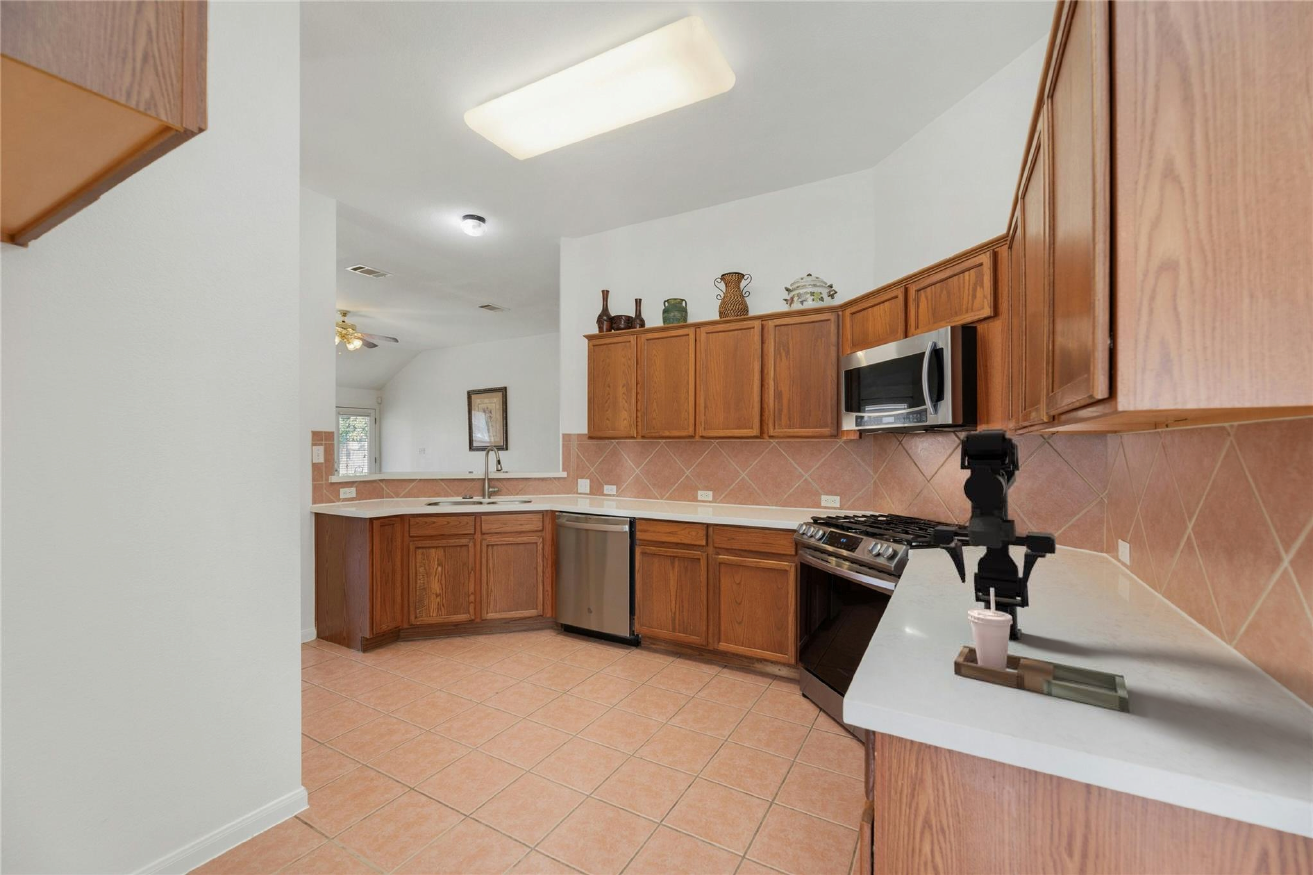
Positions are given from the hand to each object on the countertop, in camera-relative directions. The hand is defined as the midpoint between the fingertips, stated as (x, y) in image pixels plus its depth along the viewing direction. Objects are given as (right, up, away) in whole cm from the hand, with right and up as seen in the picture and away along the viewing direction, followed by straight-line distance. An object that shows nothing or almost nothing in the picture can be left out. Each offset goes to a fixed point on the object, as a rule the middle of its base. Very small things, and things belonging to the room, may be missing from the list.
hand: (992, 586), depth 93 cm
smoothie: (-4, -13, -7) cm, 15 cm away
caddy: (0, -12, -10) cm, 16 cm away
